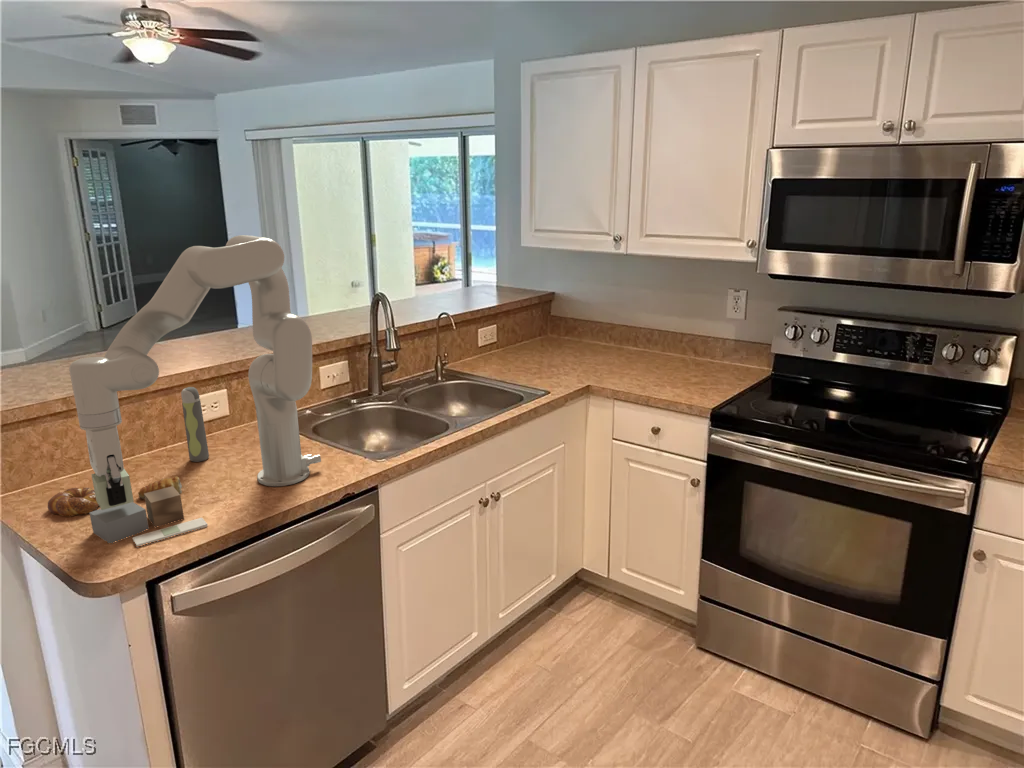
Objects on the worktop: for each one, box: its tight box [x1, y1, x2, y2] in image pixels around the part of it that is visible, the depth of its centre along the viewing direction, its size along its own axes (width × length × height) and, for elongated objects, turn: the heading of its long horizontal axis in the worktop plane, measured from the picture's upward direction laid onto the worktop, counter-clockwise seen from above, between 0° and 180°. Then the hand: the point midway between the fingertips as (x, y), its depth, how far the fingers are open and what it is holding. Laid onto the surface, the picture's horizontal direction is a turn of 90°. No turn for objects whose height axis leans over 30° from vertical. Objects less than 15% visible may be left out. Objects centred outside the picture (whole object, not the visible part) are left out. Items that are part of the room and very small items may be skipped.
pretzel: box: [47, 487, 100, 517], centre depth 163 cm, size 12×11×4 cm
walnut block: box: [144, 486, 185, 528], centre depth 156 cm, size 6×6×6 cm
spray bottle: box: [180, 386, 210, 463], centre depth 187 cm, size 5×5×20 cm
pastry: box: [137, 476, 183, 500], centre depth 169 cm, size 9×7×4 cm
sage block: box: [90, 468, 135, 510], centre depth 149 cm, size 6×6×6 cm
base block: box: [89, 501, 150, 544], centre depth 151 cm, size 8×8×5 cm
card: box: [131, 517, 209, 547], centre depth 150 cm, size 14×4×1 cm, turn 129°
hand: (114, 497), depth 149 cm, fingers closed on sage block, 6 cm apart
